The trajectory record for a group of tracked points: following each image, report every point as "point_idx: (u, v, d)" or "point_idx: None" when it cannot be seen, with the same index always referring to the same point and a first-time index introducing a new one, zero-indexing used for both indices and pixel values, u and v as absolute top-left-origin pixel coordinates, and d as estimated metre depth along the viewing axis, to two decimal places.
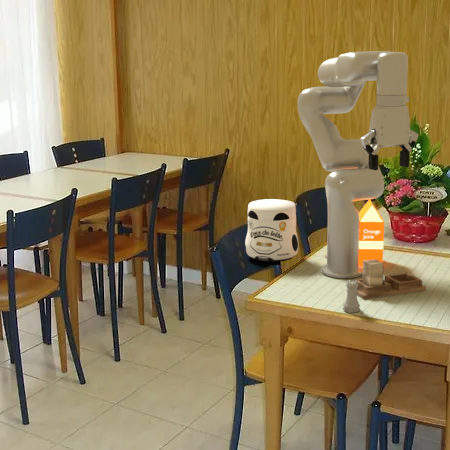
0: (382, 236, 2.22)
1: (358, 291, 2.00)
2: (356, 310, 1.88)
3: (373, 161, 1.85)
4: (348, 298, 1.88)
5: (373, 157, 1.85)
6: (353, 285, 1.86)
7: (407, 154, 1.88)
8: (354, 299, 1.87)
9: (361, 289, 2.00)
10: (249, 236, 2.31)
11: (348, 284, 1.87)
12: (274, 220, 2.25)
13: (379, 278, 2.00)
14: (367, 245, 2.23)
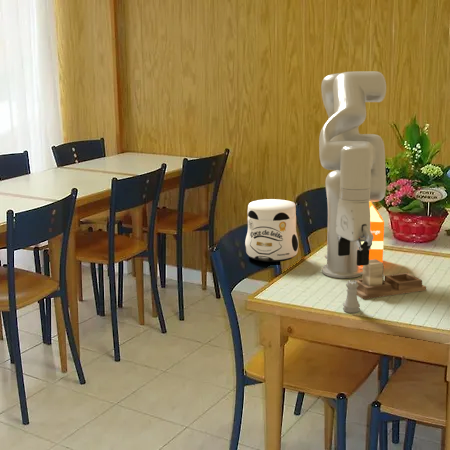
0: (382, 236, 2.22)
1: (358, 291, 2.00)
2: (356, 310, 1.88)
3: None
4: (348, 298, 1.88)
5: None
6: (353, 285, 1.86)
7: (349, 242, 1.89)
8: (354, 299, 1.87)
9: (361, 289, 2.00)
10: (249, 236, 2.31)
11: (348, 284, 1.87)
12: (274, 220, 2.25)
13: (379, 278, 2.00)
14: None
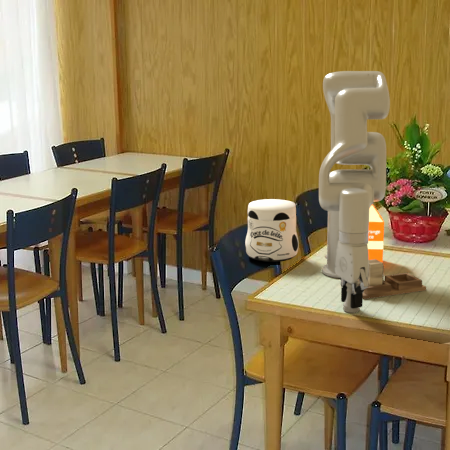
0: (382, 236, 2.22)
1: None
2: (356, 310, 1.88)
3: None
4: (348, 298, 1.88)
5: None
6: None
7: None
8: None
9: None
10: (249, 236, 2.31)
11: (348, 284, 1.87)
12: (274, 220, 2.25)
13: (379, 278, 2.00)
14: None
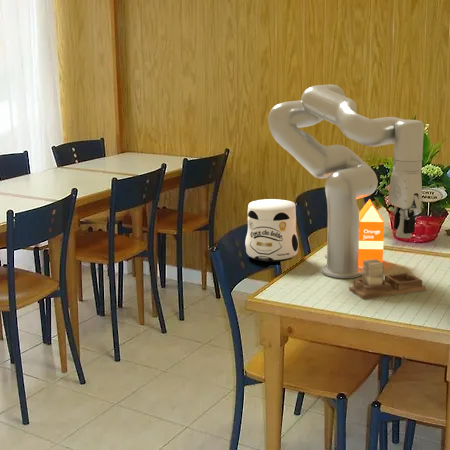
0: (382, 236, 2.22)
1: (358, 291, 2.00)
2: (408, 235, 2.00)
3: None
4: (401, 224, 2.00)
5: None
6: None
7: None
8: None
9: (361, 289, 2.00)
10: (249, 236, 2.31)
11: (401, 211, 1.99)
12: (274, 220, 2.25)
13: (379, 278, 2.00)
14: (367, 245, 2.23)
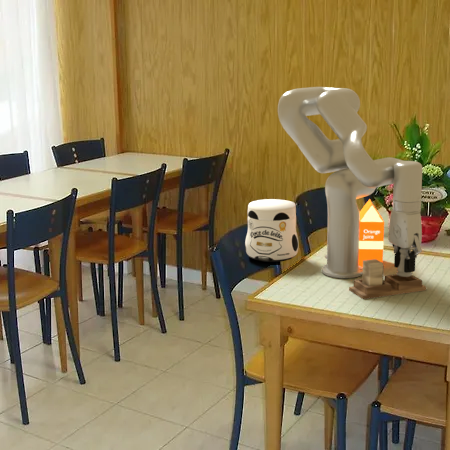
0: (382, 236, 2.22)
1: (358, 291, 2.00)
2: (409, 274, 2.03)
3: None
4: (402, 263, 2.03)
5: None
6: None
7: None
8: None
9: (361, 289, 2.00)
10: (249, 236, 2.31)
11: (402, 250, 2.02)
12: (274, 220, 2.25)
13: (379, 278, 2.00)
14: (367, 245, 2.23)
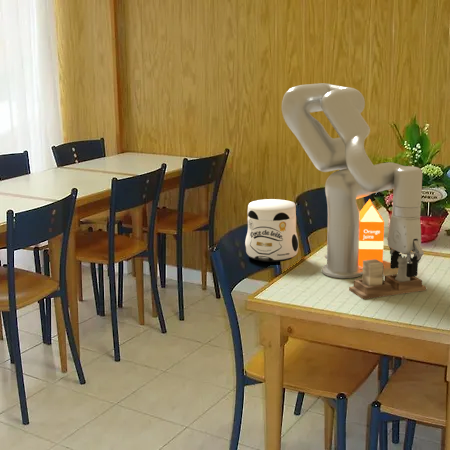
0: (382, 236, 2.22)
1: (358, 291, 2.00)
2: None
3: None
4: (399, 272, 2.04)
5: None
6: (404, 260, 2.03)
7: None
8: (405, 273, 2.04)
9: (361, 289, 2.00)
10: (249, 236, 2.31)
11: (399, 259, 2.03)
12: (274, 220, 2.25)
13: (379, 278, 2.00)
14: (367, 245, 2.23)
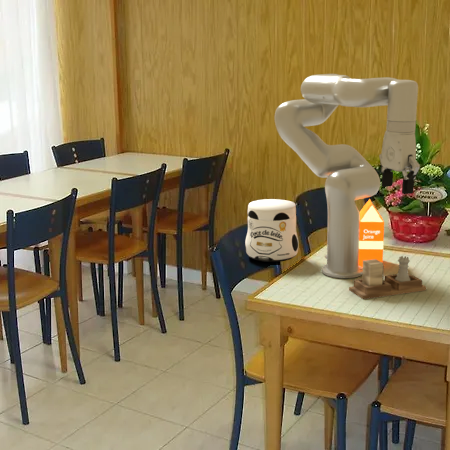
0: (382, 236, 2.22)
1: (358, 291, 2.00)
2: None
3: None
4: (400, 273, 2.04)
5: None
6: (405, 261, 2.02)
7: (392, 174, 2.01)
8: (405, 274, 2.03)
9: (361, 289, 2.00)
10: (249, 236, 2.31)
11: (400, 260, 2.03)
12: (274, 220, 2.25)
13: (379, 278, 2.00)
14: (367, 245, 2.23)
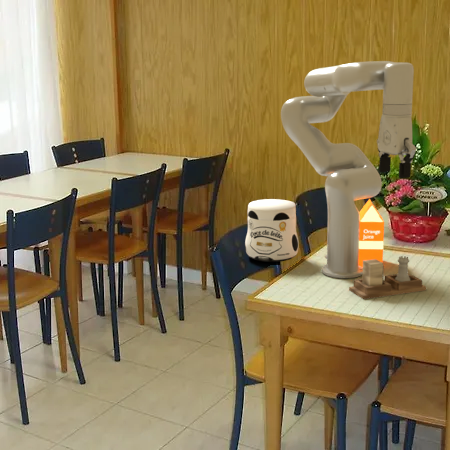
0: (382, 236, 2.22)
1: (358, 291, 2.00)
2: None
3: None
4: (400, 273, 2.04)
5: None
6: (405, 261, 2.02)
7: None
8: (405, 274, 2.03)
9: (361, 289, 2.00)
10: (249, 236, 2.31)
11: (400, 260, 2.03)
12: (274, 220, 2.25)
13: (379, 278, 2.00)
14: (367, 245, 2.23)
